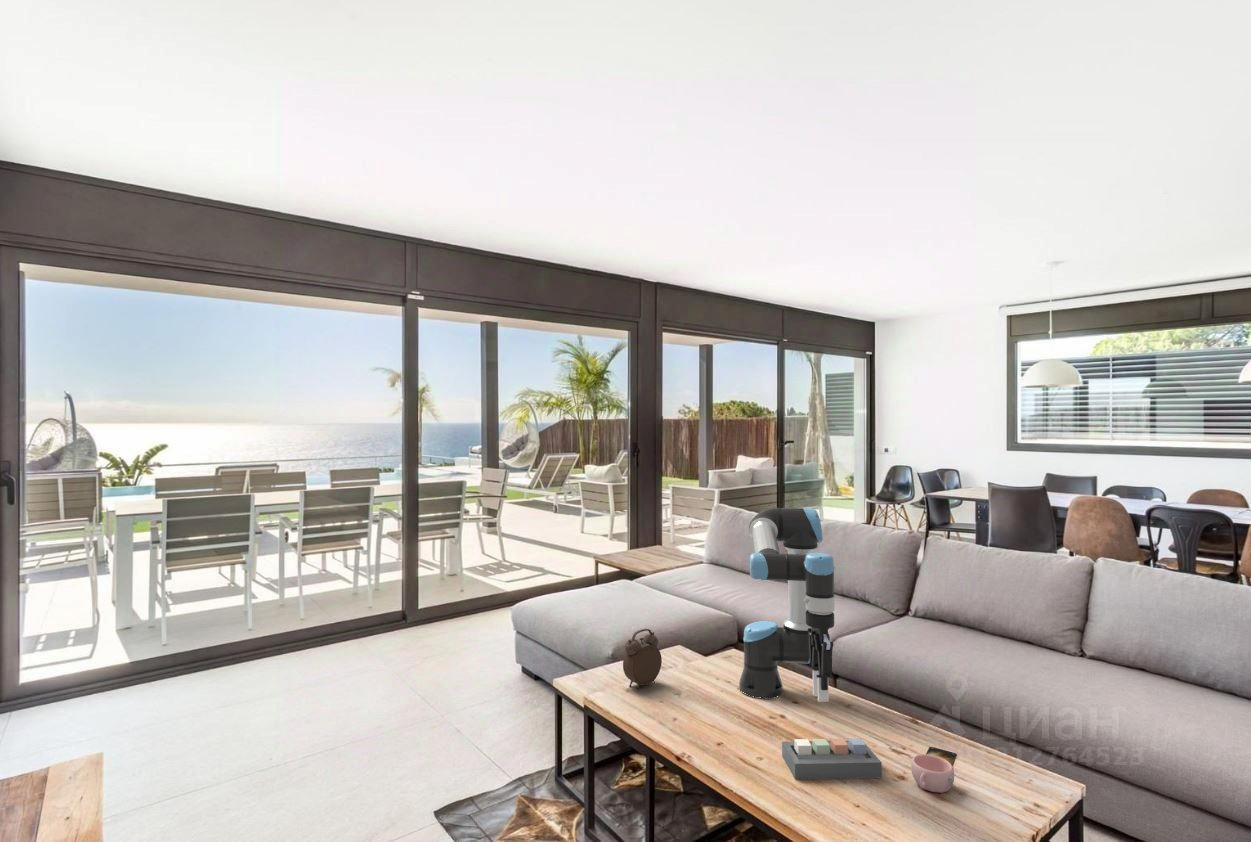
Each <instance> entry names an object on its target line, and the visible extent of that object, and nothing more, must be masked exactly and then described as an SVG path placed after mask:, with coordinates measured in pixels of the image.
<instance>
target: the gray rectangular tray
mask: <svg viewBox="0 0 1251 842" xmlns="http://www.w3.org/2000/svg"><path fill="white" fill-rule="evenodd" d="M808 741H809V743H810V744H811V746H812V740H808ZM826 741H827V742H828V743H829V745H830V740H826ZM845 742H846V743H847V744H848V740H845ZM781 756H782V759H783V760H784V763H785V765H786V767H788V769H789V771H790V773H791V775H792V777H793V778H794V780H831V779H832V780H833V779H834V780H835V779H837V780H838V779H843V780H844V779H882V778H883V775H882V774H883V772H882V770H883V769H882V768H883V767H882V761H881V760H880V759H879V758H878V757H877V755H876V754H875V753H874V752H873V751H872V749H871V748H870V747H869V746H868V745H867V754H853V753H852V751H851V750H850V749H849V748H848V754H835V753H834V752H833V751H832V749H831V748H830V754H820V755H817V754H816V753H815V751H814V750H813V748H812V755H798V753H797V752H796V750H795V749H794V741H782V742H781Z"/></svg>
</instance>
